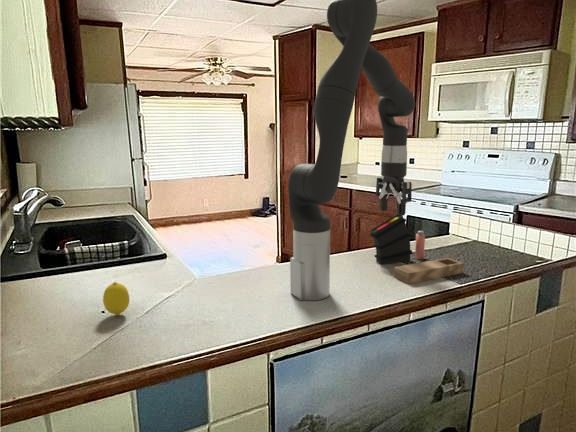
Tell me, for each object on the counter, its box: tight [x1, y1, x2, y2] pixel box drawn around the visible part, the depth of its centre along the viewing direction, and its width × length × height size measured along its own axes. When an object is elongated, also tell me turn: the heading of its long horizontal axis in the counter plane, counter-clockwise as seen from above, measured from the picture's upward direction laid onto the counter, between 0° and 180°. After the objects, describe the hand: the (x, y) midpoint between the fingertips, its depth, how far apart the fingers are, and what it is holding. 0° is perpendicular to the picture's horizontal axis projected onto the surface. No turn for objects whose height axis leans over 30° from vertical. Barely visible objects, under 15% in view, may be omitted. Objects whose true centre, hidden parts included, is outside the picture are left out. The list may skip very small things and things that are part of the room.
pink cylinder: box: [414, 230, 426, 260], centre depth 137 cm, size 3×3×9 cm
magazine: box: [369, 213, 413, 265], centre depth 134 cm, size 4×13×15 cm, turn 107°
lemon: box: [102, 281, 130, 316], centre depth 96 cm, size 6×6×8 cm
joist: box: [393, 257, 465, 285], centre depth 122 cm, size 20×6×3 cm, turn 115°
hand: (392, 213), depth 131 cm, fingers open, 8 cm apart
